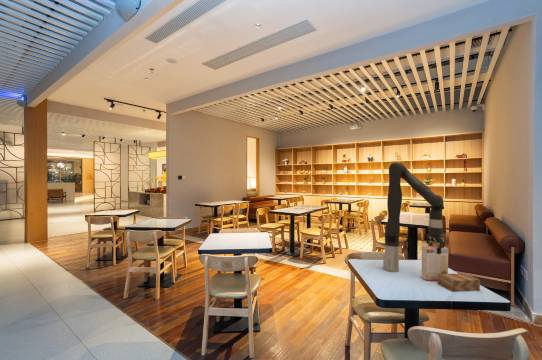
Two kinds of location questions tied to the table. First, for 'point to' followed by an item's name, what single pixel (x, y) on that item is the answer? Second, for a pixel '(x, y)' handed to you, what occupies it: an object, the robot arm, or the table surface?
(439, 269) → the cracker box
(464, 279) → the walnut block
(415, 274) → the table surface
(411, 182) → the robot arm
